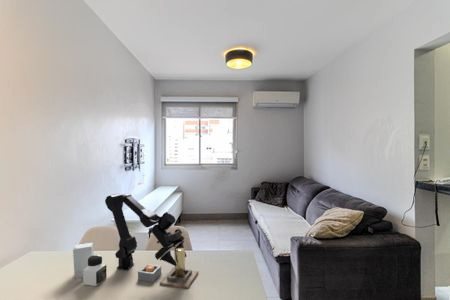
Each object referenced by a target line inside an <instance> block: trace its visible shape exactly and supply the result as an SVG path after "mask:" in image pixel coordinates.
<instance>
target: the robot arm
mask: <svg viewBox="0 0 450 300" xmlns="http://www.w3.org/2000/svg"><path fill="white" fill-rule="evenodd" d="M104 203H105V205H106V207H107V209H108V210H109V211H110V212H111V214H112V216H113V219H114V222H115V225H116V229H117V233H118V236H119V241H118V247H119V248H118V250H117V251H116V253H115V254H114V255H115V258H116V259H118V266H116V269H118V270H125V271H127V270H129V269H131V268H132V267H133V266H134V265H135V263H134V258H133V254H134V253H135V251H136V250H137V247H138V245H137V244H138V242H137V239H136V236H132V235H131V234H130V231H129V227H128V224H127V221H126V217H125V215H124V214H125V213H124V211H123V206H124V205H126V206H127V207H128V208H129V209H130V210H131V211H132V212H133V213H134V214H136V216H138V218H139V221H140V223H141V224H142V226H144V228H148V233H147V234H148V235H151V234H153V236H154V237H155V238H156V240H157V241H156V244H159V245H160V246H161V248H160V249H158V251H157V252H156V253H155V254H154V258H155V260H157V261H158V260H159V261H164V262H166V263H168V264H170V265H172V266H174V267H175V266H176V265H177V264H176V262H175V260H174V256H172V254H171V249H172V248H174V250H175V249H177V248H184V247H185V246H184V243H185V237H184V235H182V234H183V232H182V230H181V229H180V228H176V229H175V230H174V232H173V233H172V232H171V231H169V232H168V231H167V230H169V229H170V228H171V227H172V226H173V225H174V224H175V223H176V218H175V216H174V215H172V214H171V213H168V212H167V211H165V212H164V213H163V214H162V215H161V216H160V215H158V214H157V213H155V212H154V211H152V210H150V209H146V207H144V206H143V205H142V204H141V203H140V202H139V201H138V200H136V199H135V198H134V197H133V195H132V194H131V193H126V194H120V193H115V194H110V195H107V196H106V198H105V199H104ZM184 249H185V248H184ZM185 258H187V254H186V252H185Z"/></svg>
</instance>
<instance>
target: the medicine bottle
mask: <svg viewBox="0 0 450 300" xmlns="http://www.w3.org/2000/svg"><path fill="white" fill-rule="evenodd" d="M82 278H83V282H82V283H83V285H84V286H85V285H86V286H93V287H97V286H99V285H100V284H101V283H103V282H104V281H105V280H106V279H107V264H106V263H103V256H102V255H101V254H95V255H93V256H91V257H89V258H88V267H87V268H85V269H84V270H83V277H82Z"/></svg>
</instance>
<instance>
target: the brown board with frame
mask: <svg viewBox="0 0 450 300" xmlns="http://www.w3.org/2000/svg"><path fill="white" fill-rule="evenodd" d="M198 274H199V270H192V269H186V268H185V277H184V278H178V277H175V267H172V268H171V269H170V270H169V272H168V273H167V274H165V276H164V277H163V278H162V279H161V281H160V282H159V286H165V287H166V286H167V287H174V288H181V289H187V290H188V289H189V287H190V286H191V285H192V283H193V282H194V280H195V279H196V277H197V276H198Z"/></svg>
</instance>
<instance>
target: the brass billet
mask: <svg viewBox="0 0 450 300" xmlns="http://www.w3.org/2000/svg"><path fill="white" fill-rule="evenodd" d="M173 251H174V253H173V255H174V256H173V259H174V260H175V262H176V264H177V265H176V266H174V268H175V277H178V278H184V277H185V269H186V257H185V253H186V249H185V248H177V249H175V248H174V250H173Z"/></svg>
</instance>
